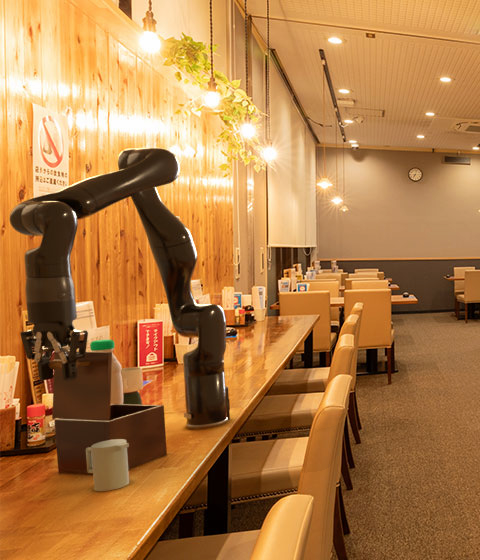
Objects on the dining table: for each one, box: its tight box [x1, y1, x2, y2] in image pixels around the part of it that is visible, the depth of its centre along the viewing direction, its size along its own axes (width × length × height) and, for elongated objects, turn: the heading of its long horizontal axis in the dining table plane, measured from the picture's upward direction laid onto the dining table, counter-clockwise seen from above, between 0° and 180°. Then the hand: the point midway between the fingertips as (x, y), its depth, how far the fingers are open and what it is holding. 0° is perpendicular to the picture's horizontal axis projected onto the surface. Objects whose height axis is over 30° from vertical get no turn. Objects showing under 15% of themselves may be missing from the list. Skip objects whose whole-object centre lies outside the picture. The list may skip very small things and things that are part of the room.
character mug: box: [121, 366, 144, 405], centre depth 189 cm, size 11×7×13 cm, turn 30°
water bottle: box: [89, 339, 123, 405], centre depth 166 cm, size 7×7×25 cm
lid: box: [49, 351, 112, 420], centre depth 137 cm, size 14×14×5 cm
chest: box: [54, 404, 168, 475], centre depth 146 cm, size 14×14×12 cm
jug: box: [86, 439, 130, 492], centre depth 132 cm, size 9×6×9 cm, turn 81°
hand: (58, 379), depth 134 cm, fingers closed on lid, 5 cm apart
